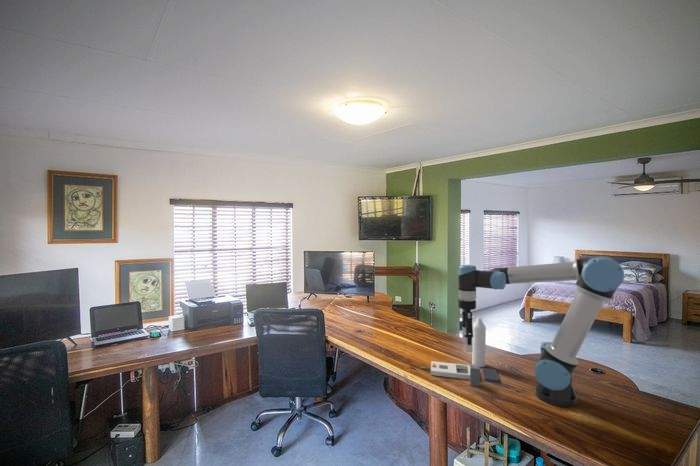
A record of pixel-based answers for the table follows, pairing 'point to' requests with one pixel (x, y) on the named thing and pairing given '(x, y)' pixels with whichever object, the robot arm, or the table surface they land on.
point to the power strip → (449, 370)
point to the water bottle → (479, 343)
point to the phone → (490, 375)
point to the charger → (474, 375)
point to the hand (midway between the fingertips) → (467, 346)
